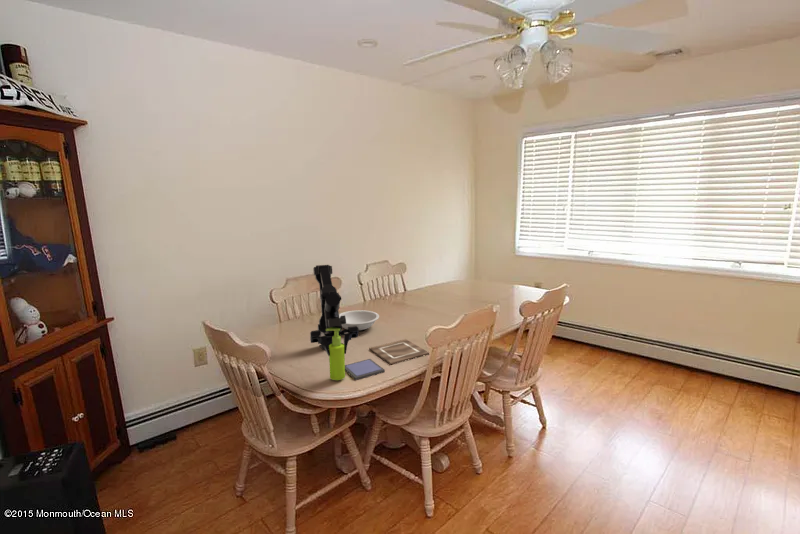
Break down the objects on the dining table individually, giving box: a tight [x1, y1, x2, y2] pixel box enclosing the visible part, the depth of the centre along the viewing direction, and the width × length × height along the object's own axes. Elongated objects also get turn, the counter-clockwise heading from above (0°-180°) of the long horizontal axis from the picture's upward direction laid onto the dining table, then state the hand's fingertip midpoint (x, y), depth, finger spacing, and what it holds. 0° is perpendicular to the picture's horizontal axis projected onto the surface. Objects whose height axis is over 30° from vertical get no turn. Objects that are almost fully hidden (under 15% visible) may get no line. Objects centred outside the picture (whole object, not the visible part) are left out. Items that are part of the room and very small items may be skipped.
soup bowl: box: [339, 309, 380, 331], centre depth 213 cm, size 24×24×7 cm
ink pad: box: [345, 358, 386, 381], centre depth 163 cm, size 13×13×1 cm
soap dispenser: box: [326, 328, 346, 381], centre depth 154 cm, size 6×7×20 cm
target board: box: [368, 338, 430, 365], centre depth 181 cm, size 20×20×1 cm
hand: (337, 354), depth 153 cm, fingers open, 6 cm apart
